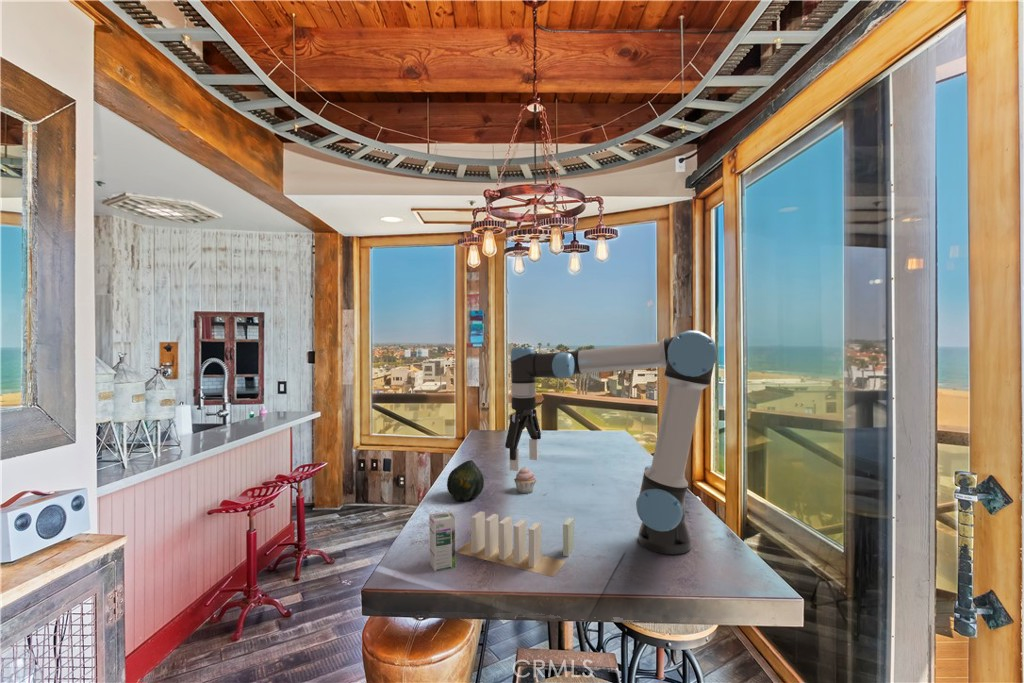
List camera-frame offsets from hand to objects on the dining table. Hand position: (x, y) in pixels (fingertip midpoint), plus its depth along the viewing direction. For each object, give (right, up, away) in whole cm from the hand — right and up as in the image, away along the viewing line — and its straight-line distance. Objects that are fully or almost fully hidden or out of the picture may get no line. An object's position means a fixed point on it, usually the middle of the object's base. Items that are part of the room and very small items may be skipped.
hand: (524, 464), depth 139 cm
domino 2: (-10, -22, -12) cm, 27 cm away
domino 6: (+12, -23, -12) cm, 28 cm away
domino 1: (-14, -22, -10) cm, 27 cm away
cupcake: (+1, -23, +44) cm, 50 cm away
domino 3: (-6, -22, -14) cm, 26 cm away
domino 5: (+2, -22, -18) cm, 28 cm away
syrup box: (-23, -23, -19) cm, 37 cm away
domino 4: (-2, -22, -16) cm, 27 cm away
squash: (-22, -23, +37) cm, 49 cm away
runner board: (-5, -23, -14) cm, 27 cm away
